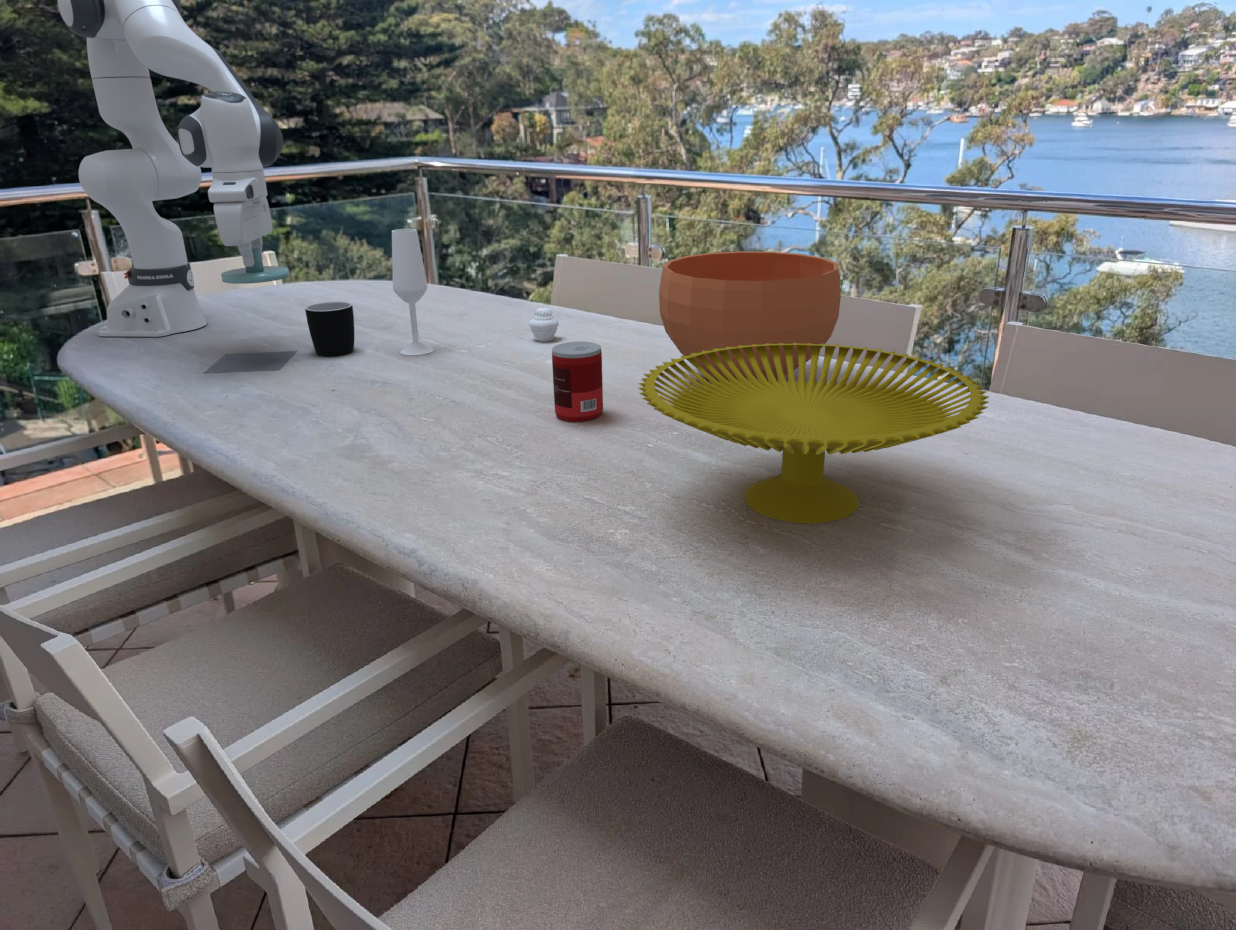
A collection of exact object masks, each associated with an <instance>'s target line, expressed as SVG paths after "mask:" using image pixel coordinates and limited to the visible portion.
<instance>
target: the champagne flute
mask: <svg viewBox="0 0 1236 930" xmlns="http://www.w3.org/2000/svg"><path fill="white" fill-rule="evenodd" d="M418 235H419V234H418V230H417V229H415V228H400V229H399V228H397V229H393V230H391V256H392V257H391V261H392V262H391V263H392V289H393V291H394V293H395V294H396V296H397V297H398V298H400V299H401V300H402V301H404V303H406V304H408V305H409V306H408V307H409V315H410V323H411V324H410V325H411V327H410V328H411V335H412V336H411V337H412V342H411V343H410V344H409V345H407V346H406V347H405V348H403V349H402V350H401V351H400V354H401V355H405V356H421V355H427V354H430V353H432V352H434V348H432V347H431V346H428V345H426V344H424V343H423V342H421V341H420V340H419V329H418V328H419V327H418V319H417V311H416V304H417V303H418V302H420V300H421V299H422V298H423V296H424V295H425V293H427V289H428V283H427V277H426V271H425V265H424V262H423V256H422V251H421V246H420V241H419V236H418Z"/></svg>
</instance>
